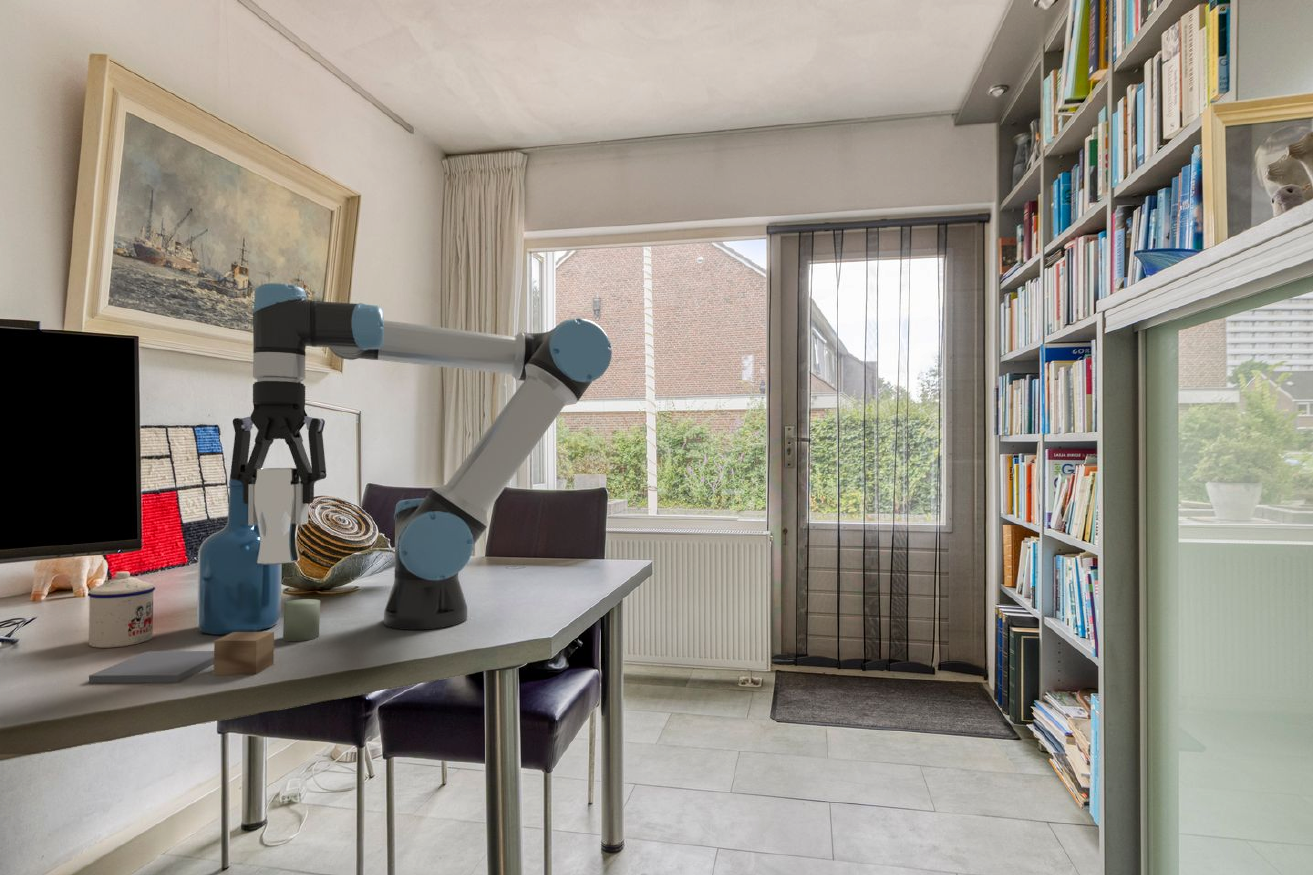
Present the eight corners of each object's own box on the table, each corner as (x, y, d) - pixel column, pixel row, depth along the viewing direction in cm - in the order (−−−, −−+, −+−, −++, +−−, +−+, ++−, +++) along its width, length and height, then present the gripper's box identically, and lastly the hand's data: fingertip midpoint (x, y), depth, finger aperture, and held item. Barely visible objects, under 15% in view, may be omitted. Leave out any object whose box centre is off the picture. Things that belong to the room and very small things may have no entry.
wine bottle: (190, 640, 122) (193, 463, 122) (203, 622, 134) (206, 462, 134) (280, 632, 127) (283, 463, 128) (285, 616, 139) (288, 462, 140)
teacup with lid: (138, 647, 117) (140, 575, 117) (74, 650, 115) (76, 577, 115) (171, 629, 129) (172, 564, 129) (113, 631, 127) (114, 565, 127)
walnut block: (273, 664, 108) (274, 631, 108) (256, 675, 103) (256, 640, 103) (233, 665, 108) (233, 631, 108) (213, 675, 103) (214, 640, 103)
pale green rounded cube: (325, 633, 126) (326, 599, 127) (308, 641, 121) (310, 605, 121) (293, 632, 127) (295, 598, 127) (276, 640, 121) (277, 604, 121)
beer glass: (251, 566, 111) (251, 469, 111) (256, 560, 117) (256, 468, 117) (301, 563, 113) (301, 468, 114) (303, 557, 120) (303, 467, 120)
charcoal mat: (226, 657, 112) (226, 650, 112) (177, 682, 100) (177, 675, 100) (147, 657, 111) (147, 651, 111) (88, 682, 99) (88, 675, 99)
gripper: (350, 383, 120) (349, 521, 119) (230, 383, 119) (229, 522, 119) (331, 379, 112) (330, 526, 112) (203, 379, 112) (202, 527, 111)
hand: (278, 524), depth 115 cm, fingers closed on beer glass, 7 cm apart
